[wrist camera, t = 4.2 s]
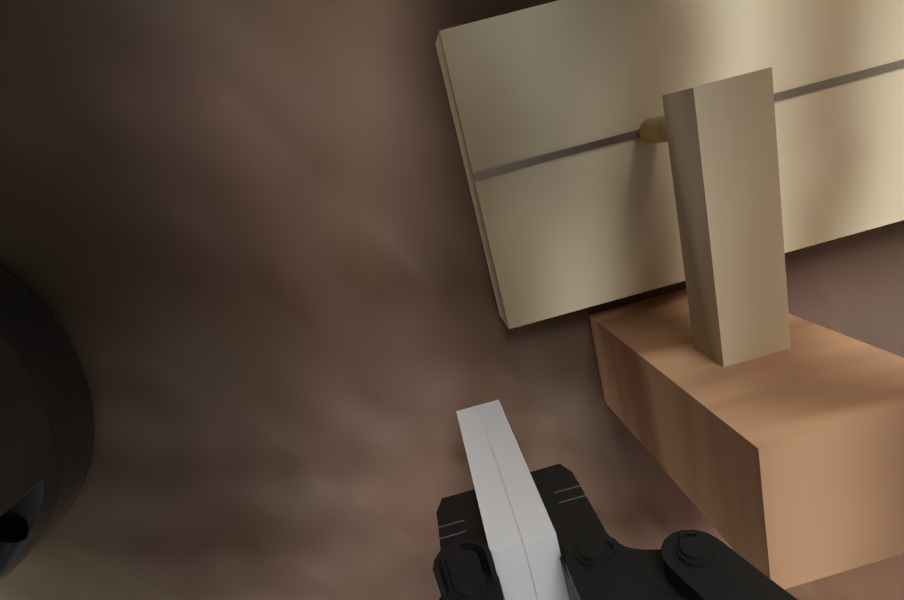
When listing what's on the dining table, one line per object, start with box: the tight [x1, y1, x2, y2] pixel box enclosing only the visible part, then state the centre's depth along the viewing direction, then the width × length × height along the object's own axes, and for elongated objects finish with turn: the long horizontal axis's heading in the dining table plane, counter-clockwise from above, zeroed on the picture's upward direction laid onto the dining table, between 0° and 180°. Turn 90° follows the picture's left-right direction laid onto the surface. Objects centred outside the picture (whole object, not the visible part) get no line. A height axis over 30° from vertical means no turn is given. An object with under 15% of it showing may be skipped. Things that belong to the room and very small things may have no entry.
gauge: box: [589, 67, 904, 589], centre depth 15 cm, size 5×12×10 cm, turn 14°
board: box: [435, 0, 904, 329], centre depth 18 cm, size 24×10×2 cm, turn 104°
